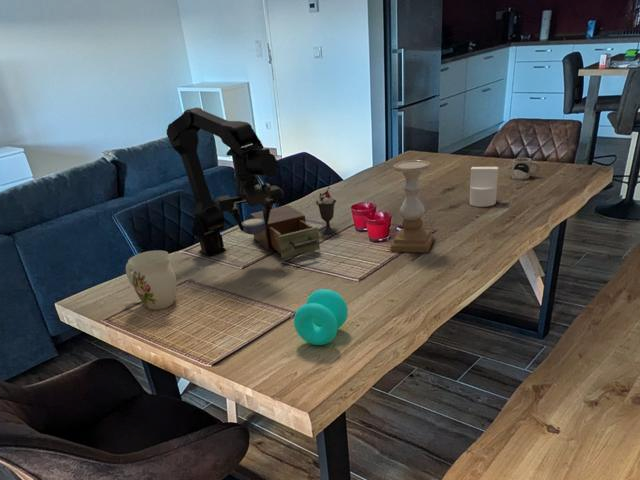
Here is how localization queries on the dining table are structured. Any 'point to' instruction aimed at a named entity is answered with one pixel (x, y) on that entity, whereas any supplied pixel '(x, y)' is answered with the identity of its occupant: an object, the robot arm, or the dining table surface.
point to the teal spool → (321, 317)
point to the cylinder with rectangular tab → (483, 186)
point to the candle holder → (412, 211)
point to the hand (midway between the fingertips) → (254, 227)
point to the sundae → (326, 210)
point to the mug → (523, 168)
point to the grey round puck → (254, 226)
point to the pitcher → (153, 278)
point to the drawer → (293, 238)
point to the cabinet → (275, 222)
